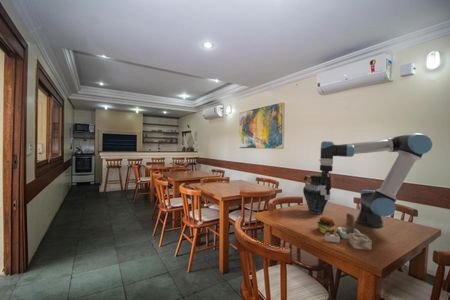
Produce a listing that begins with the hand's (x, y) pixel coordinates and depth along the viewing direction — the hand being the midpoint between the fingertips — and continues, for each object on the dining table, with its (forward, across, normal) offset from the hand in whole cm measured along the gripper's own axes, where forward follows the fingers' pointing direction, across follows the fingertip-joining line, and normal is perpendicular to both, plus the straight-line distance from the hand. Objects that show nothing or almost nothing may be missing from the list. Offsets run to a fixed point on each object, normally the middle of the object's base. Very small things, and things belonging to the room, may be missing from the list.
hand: (324, 197), depth 144 cm
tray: (+19, +14, +12) cm, 26 cm away
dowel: (+18, +14, +12) cm, 25 cm away
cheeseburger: (+19, +10, -1) cm, 22 cm away
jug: (+19, -28, -1) cm, 33 cm away
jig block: (+19, +27, +12) cm, 35 cm away
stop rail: (+19, +24, 0) cm, 31 cm away
